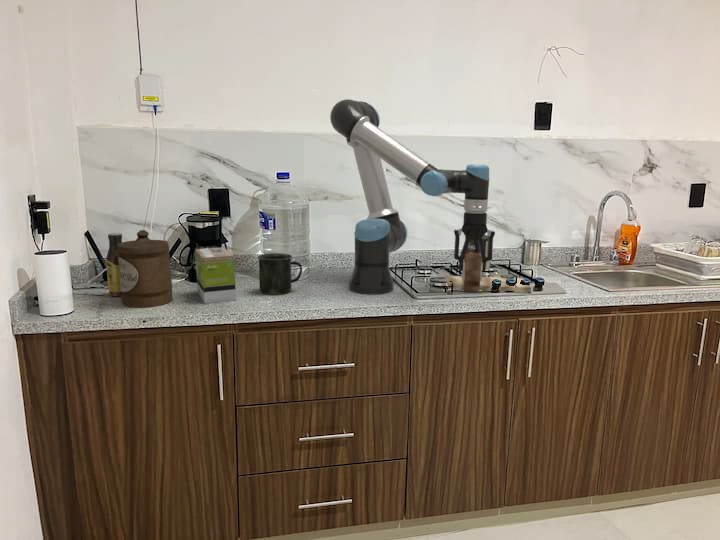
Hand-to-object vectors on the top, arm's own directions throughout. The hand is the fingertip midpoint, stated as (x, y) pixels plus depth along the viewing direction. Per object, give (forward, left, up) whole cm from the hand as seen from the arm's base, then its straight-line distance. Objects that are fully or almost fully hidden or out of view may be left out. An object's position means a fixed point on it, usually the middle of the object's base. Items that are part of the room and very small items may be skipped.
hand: (471, 280), depth 192 cm
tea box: (-83, -18, -4) cm, 85 cm away
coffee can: (+6, +32, -4) cm, 33 cm away
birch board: (+6, +6, -4) cm, 9 cm away
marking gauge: (0, +4, -3) cm, 5 cm away
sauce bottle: (-114, -20, -4) cm, 116 cm away
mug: (-64, -9, -4) cm, 65 cm away
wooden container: (-102, -26, -4) cm, 105 cm away
